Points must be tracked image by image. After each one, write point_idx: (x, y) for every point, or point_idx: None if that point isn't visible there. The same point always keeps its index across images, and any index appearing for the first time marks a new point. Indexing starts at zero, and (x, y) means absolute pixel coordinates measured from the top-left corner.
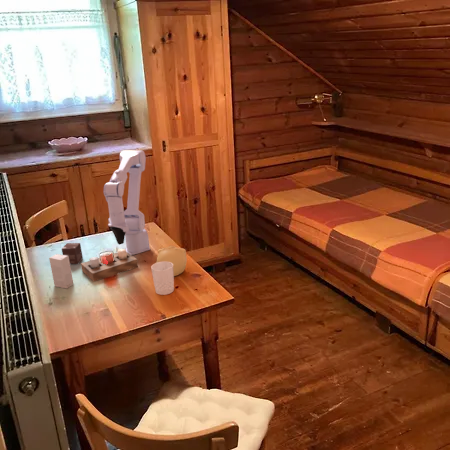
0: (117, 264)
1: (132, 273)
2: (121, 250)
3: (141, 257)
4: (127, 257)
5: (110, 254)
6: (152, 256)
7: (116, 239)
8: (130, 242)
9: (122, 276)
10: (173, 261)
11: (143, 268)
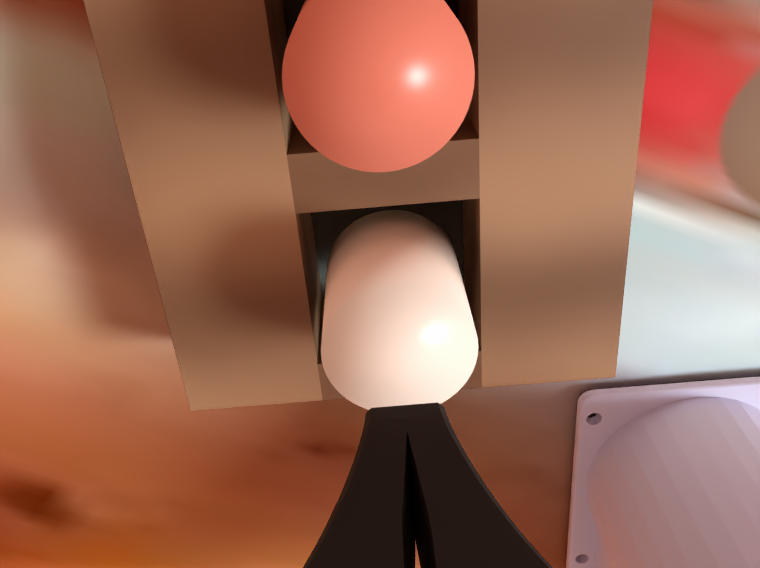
0: (150, 123)
1: (56, 227)
2: (398, 347)
3: None
4: None
5: (349, 124)
6: None
7: (437, 465)
8: (686, 528)
9: (20, 84)
10: None
11: (137, 373)
